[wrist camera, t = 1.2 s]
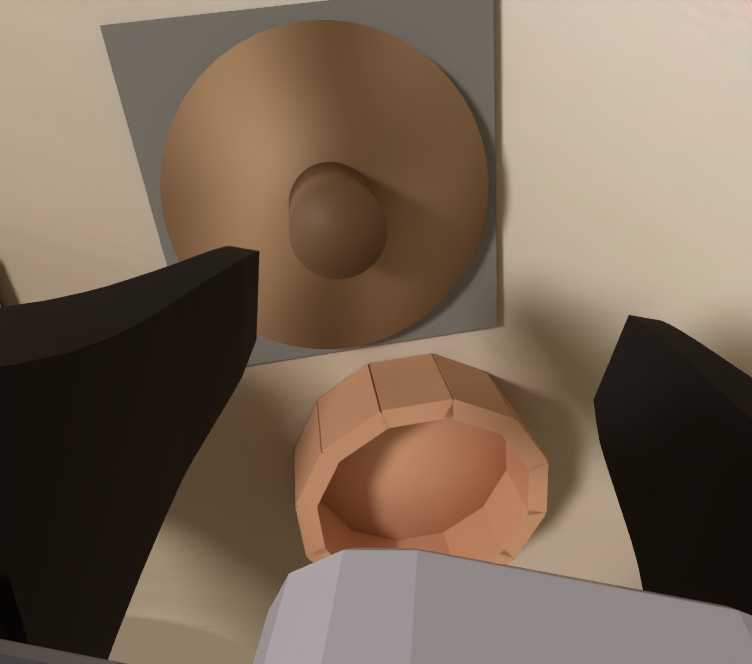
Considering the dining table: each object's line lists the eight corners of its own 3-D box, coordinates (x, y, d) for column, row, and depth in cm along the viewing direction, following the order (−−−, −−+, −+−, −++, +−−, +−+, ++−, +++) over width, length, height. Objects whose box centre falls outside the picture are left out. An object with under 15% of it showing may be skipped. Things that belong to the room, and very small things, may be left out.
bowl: (316, 555, 28) (319, 618, 25) (279, 377, 24) (277, 427, 20) (516, 518, 29) (544, 575, 26) (517, 340, 24) (551, 382, 21)
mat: (198, 368, 23) (197, 373, 23) (103, 26, 18) (99, 25, 17) (494, 322, 24) (497, 326, 23) (489, -17, 18) (493, -18, 18)
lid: (207, 360, 22) (190, 423, 18) (122, 42, 17) (75, 39, 14) (484, 316, 23) (524, 369, 19) (477, 2, 18) (528, -12, 14)
